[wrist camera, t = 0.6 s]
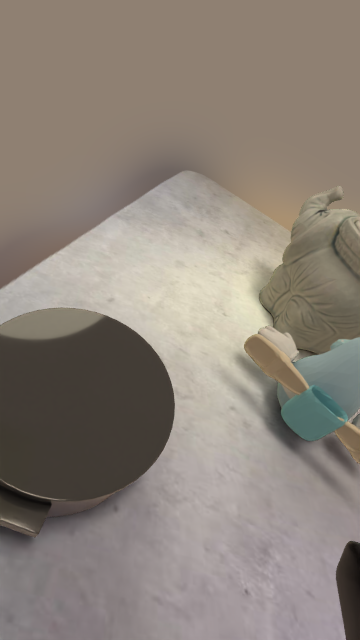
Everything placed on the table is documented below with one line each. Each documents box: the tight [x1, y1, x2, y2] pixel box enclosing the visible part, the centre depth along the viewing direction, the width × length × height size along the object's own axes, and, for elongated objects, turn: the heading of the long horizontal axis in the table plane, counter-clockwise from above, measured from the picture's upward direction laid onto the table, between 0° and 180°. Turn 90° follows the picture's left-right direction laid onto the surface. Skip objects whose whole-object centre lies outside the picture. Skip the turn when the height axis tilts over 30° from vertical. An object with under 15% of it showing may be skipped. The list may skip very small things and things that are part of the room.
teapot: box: [259, 186, 360, 354], centre depth 40 cm, size 16×15×19 cm
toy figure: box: [244, 326, 360, 464], centre depth 29 cm, size 17×10×15 cm, turn 51°
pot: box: [0, 308, 175, 538], centre depth 21 cm, size 15×13×5 cm
